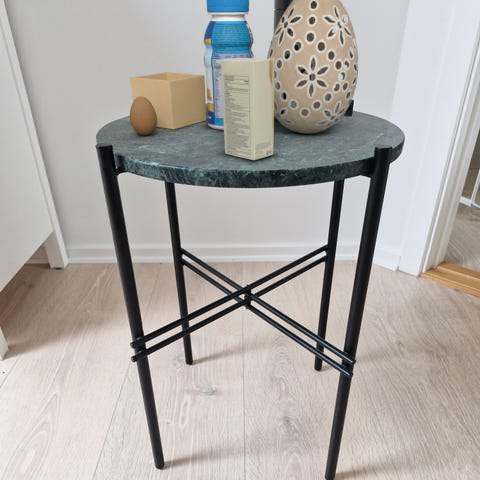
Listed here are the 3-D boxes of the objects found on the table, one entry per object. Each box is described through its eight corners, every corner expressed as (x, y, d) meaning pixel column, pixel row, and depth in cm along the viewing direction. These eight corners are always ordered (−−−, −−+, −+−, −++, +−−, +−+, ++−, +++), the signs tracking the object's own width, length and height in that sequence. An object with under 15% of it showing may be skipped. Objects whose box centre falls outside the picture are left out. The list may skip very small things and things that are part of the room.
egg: (131, 139, 74) (125, 99, 71) (133, 132, 78) (127, 94, 74) (158, 138, 74) (154, 98, 71) (159, 132, 78) (155, 93, 75)
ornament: (311, 120, 85) (322, -11, 74) (368, 135, 75) (391, -14, 63) (247, 130, 79) (247, -12, 67) (300, 148, 68) (311, -16, 57)
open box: (170, 114, 90) (166, 71, 86) (206, 120, 86) (204, 75, 81) (135, 123, 84) (130, 77, 80) (173, 129, 80) (169, 81, 75)
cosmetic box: (274, 156, 65) (277, 58, 58) (253, 162, 63) (254, 61, 56) (243, 148, 69) (243, 55, 62) (222, 153, 66) (219, 57, 59)
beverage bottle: (230, 133, 77) (228, -13, 65) (197, 126, 81) (189, -11, 70) (262, 125, 82) (265, -12, 70) (229, 119, 86) (227, -10, 75)
